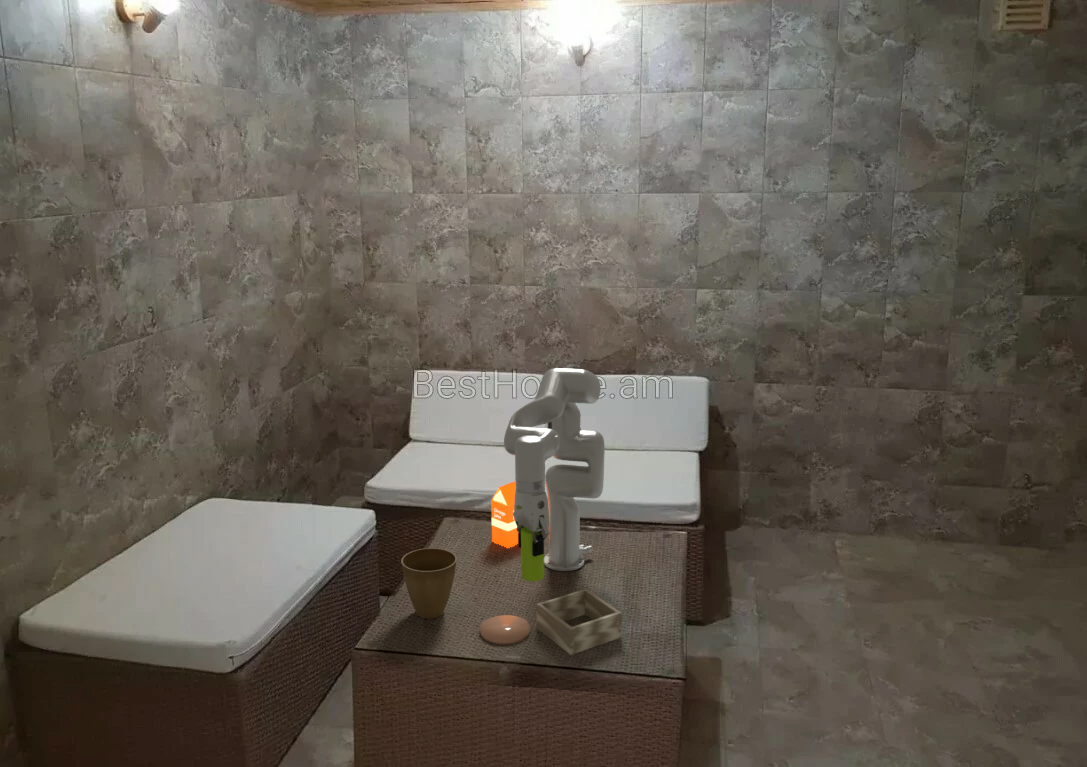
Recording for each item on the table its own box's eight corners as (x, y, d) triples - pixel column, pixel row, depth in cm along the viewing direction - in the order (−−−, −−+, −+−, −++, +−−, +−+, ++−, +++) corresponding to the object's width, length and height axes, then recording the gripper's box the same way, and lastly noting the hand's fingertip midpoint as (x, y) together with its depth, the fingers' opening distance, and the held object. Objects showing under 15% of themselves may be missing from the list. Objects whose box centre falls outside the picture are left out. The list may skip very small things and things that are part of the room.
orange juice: (527, 540, 295) (527, 482, 290) (508, 548, 289) (507, 490, 284) (510, 533, 300) (510, 477, 295) (491, 541, 294) (490, 484, 289)
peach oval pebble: (513, 614, 247) (513, 610, 247) (539, 635, 237) (538, 631, 236) (471, 627, 241) (471, 623, 240) (495, 649, 230) (495, 645, 230)
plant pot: (435, 631, 239) (433, 575, 235) (392, 616, 247) (389, 562, 243) (469, 607, 251) (467, 554, 247) (427, 594, 259) (425, 543, 255)
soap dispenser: (517, 572, 237) (515, 501, 232) (543, 570, 238) (541, 499, 233) (518, 582, 232) (517, 509, 227) (545, 580, 232) (544, 507, 227)
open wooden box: (586, 611, 249) (586, 588, 247) (621, 637, 236) (621, 612, 234) (536, 627, 240) (536, 603, 239) (570, 655, 227) (570, 629, 226)
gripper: (562, 491, 223) (562, 558, 228) (524, 472, 237) (525, 535, 242) (536, 498, 219) (537, 566, 224) (499, 477, 233) (501, 542, 238)
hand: (530, 549), depth 233 cm, fingers closed on soap dispenser, 5 cm apart
